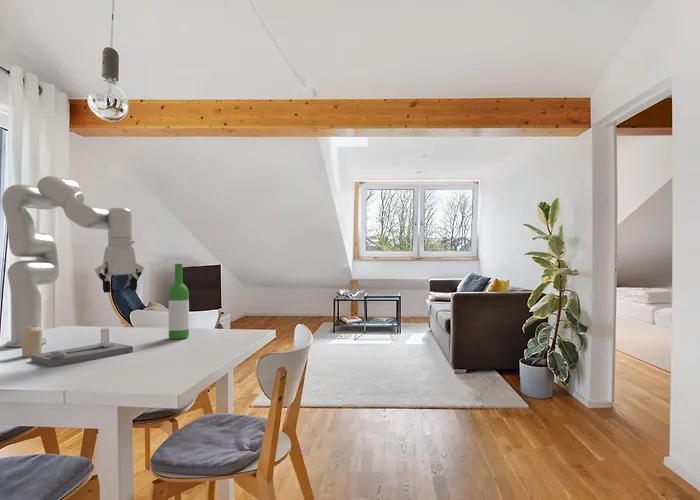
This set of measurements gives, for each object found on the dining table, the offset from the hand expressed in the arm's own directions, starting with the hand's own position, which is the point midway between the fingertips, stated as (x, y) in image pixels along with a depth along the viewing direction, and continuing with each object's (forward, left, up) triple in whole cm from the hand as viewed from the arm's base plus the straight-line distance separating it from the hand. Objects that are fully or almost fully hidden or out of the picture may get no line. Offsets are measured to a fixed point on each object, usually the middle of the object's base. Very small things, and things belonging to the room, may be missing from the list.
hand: (120, 291), depth 169 cm
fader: (-1, -5, -18) cm, 19 cm away
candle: (-17, -21, -21) cm, 34 cm away
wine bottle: (-4, +27, -21) cm, 34 cm away
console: (-1, -12, -21) cm, 24 cm away
